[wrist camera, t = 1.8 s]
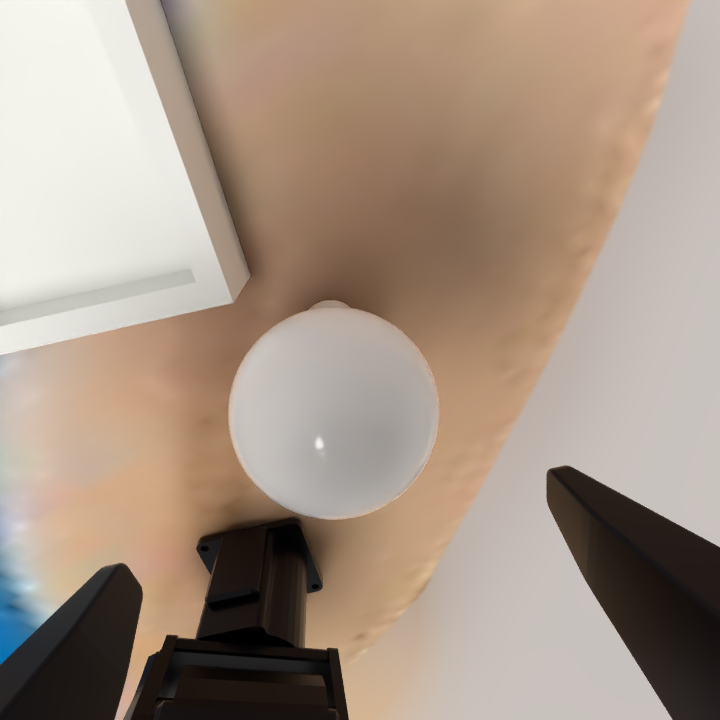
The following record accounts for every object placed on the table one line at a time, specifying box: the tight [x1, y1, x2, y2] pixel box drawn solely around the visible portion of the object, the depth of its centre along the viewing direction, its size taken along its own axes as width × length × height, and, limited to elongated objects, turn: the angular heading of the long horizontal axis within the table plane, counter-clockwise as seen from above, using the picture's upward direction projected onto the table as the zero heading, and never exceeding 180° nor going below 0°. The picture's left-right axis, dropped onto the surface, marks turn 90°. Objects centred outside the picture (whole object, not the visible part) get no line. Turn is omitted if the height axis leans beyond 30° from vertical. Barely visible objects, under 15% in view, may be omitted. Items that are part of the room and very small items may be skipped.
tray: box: [0, 0, 251, 355], centre depth 14 cm, size 12×12×4 cm
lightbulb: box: [228, 300, 440, 520], centre depth 15 cm, size 6×6×11 cm
